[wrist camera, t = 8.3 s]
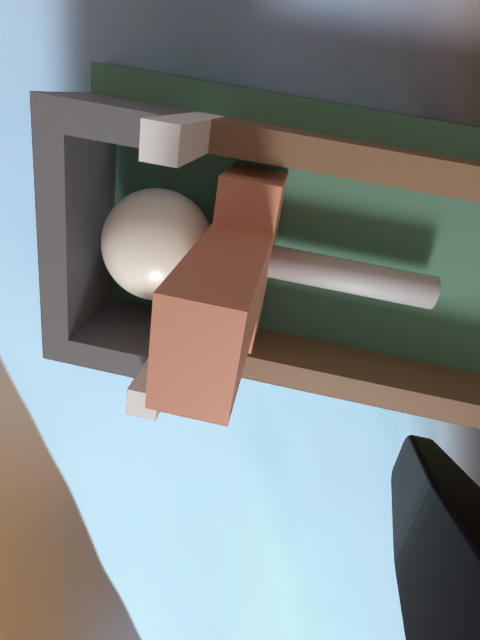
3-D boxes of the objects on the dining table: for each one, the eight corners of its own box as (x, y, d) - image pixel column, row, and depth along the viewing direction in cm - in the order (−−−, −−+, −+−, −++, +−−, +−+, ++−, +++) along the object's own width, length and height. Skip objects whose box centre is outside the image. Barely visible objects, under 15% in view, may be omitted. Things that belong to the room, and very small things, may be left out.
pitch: (788, 180, 15) (1107, 235, 9) (618, 433, 20) (749, 580, 14) (103, 63, 17) (-20, 43, 11) (99, 323, 22) (13, 411, 16)
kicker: (455, 203, 16) (587, 305, 8) (402, 348, 19) (463, 530, 11) (234, 163, 17) (158, 222, 9) (214, 309, 20) (141, 455, 12)
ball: (77, 177, 15) (170, 174, 18) (79, 286, 17) (163, 268, 20) (151, 210, 13) (244, 201, 16) (143, 330, 15) (228, 304, 18)
